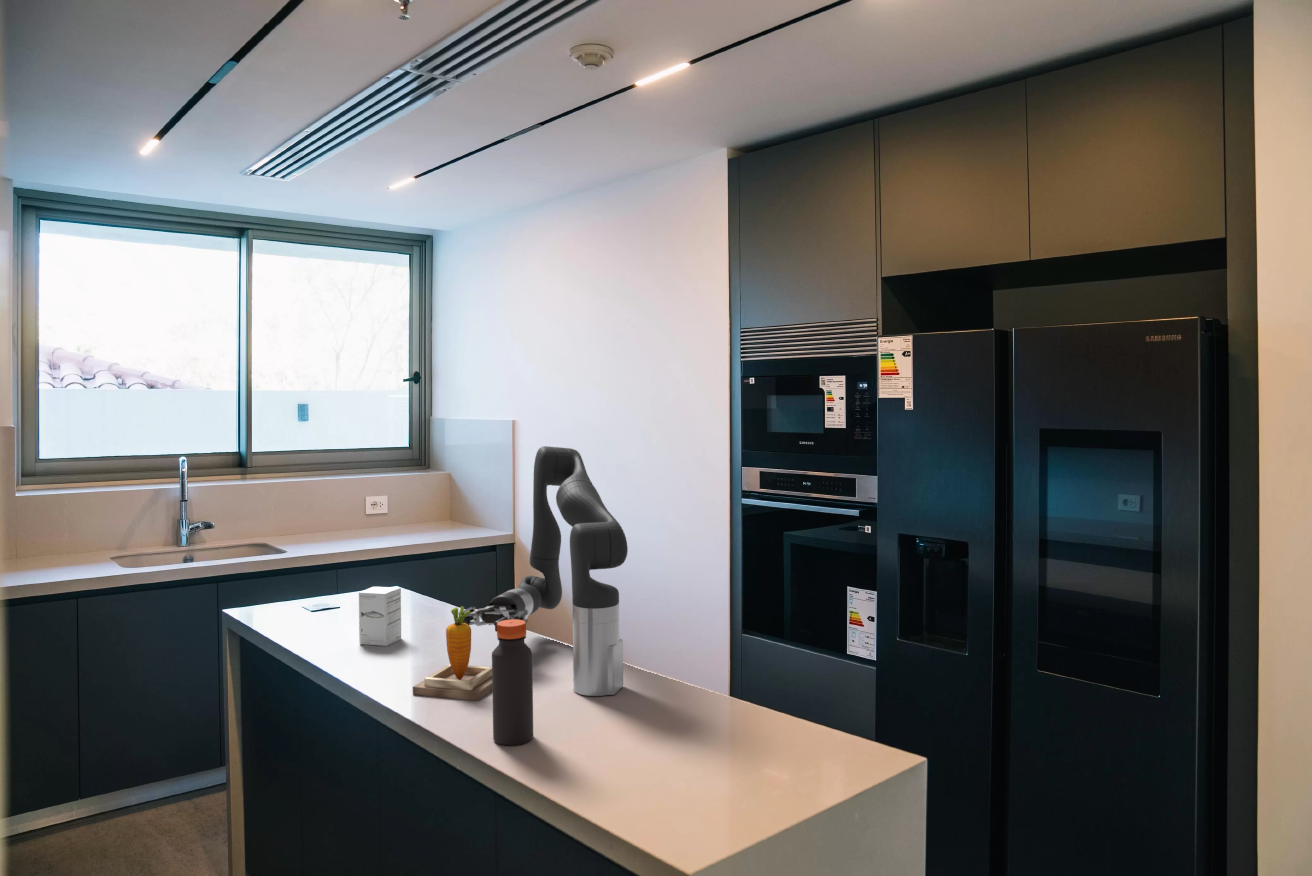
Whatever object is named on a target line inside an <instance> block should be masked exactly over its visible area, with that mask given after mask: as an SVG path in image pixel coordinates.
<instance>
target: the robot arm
mask: <svg viewBox="0 0 1312 876" xmlns="http://www.w3.org/2000/svg"><path fill="white" fill-rule="evenodd" d="M532 485H533V492H532V493H533V497H532V498H533V499H532V501H533V502H532V509H533V511H532V512H533V515H532V516H533V518H532V522H533V525H532V527H533V528H532V538H531V545H530V547H531V548H530V554H529V565H530V567H531V568H532V569H534V570H536V571H538V572H540V573H541V574H542V575H543V577H540V576H536V575H527V576H524V577H523V578H522V579H521V581H520V582H519V585H518V586H516V588H513V589H509V590H506V591H505V592H503V593H501V594H499V595H497V596H495V597H493V598H492V599H491V601H489V603H488V605H487V606H486V607H482V608H478V609H477V607H475V606H470V607H468V608H466V609H464V610H463V614H464V613H465V612H467V611H470V612H471V613H470V614H468V615H467V616H466V617H465V618H464V620H463V623H466V624H468V625H469V626H474V625H475V626H477V627H480V626H481V627H482V626H485V625H488V626H492V625H493V626H494V631H495V632H496V633H497V623H498V622H500V621H503V620H511V619H518V620H523V621H525V622H526V624H527V623H528V621H529V619H528V618H529V616H530V615H531V616H532V614H534V613H535V612H537V611H538V610H539V609H540V608H541V609H544V610H554V609H556V608H557V607H558V605H559V604H560V603H561V600H562V597H563V587H562V580H561V575H560V574H561V573H560V563H559V562H560V554H561V546H562V534H561V528H560V526H559V523H558V521H557V519H556V518H555V515H554V513H553V511H552V509H551V505H550V503H549V499H548V488H547V487H548V486H552V487H553V486H554V487H556V486H557V487H558V489H557V491H556V494H555V500H556V505H557V508H558V511H559V513H560V514H561V517H562V519H563V520H564V521H565V522H566V524H568V525H569V526H571V527H572V528H571V530H570V534H569V554H570V555H569V556H570V568H571V569H570V570H571V592H572V593H571V594H572V595H571V596H572V598H571V599H572V659H573V660H572V664H573V665H572V667H573V668H572V669H573V670H572V671H573V675H572V676H573V677H572V680H573V681H572V683H573V691H574V692H575V693H576V694H578V695H583V696H589V697H600V696H602V697H603V696H614V695H615V694H617V693H618V692H619V691H620V689H621V688H623V686H624V642H623V641H624V640H623V639H622V638H620V593H619V590H618V588H617V587H615V586H613V585H610V584H607V583H604V582H601V581H598V580H595V578H592V577H591V573H590V571H591V570H593V571H594V570H605V569H606V570H607V569H614V568H618V567H620V566H622V565H623V564H624V563H625V561H626V559H627V557H628V551H629V550H628V549H629V548H628V547H629V546H628V541H627V537H626V533H625V531H624V529H623V527H622V526H621V524H620V522H618V521H617V519H616V518H615V517H614V516H613V515H612V514H611V512H610V511H609V510H608V509H607V507H606V506H605V504H604V502H603V500H602V498H601V496H600V494H599V491H597V488H596V487H595V486H594V484H593V482H592V481H591V479H590V477H589V475H588V473H587V469H586V467H585V463H584V460H583V458H582V454H581V453H580V452H579V451H578V450H576V449H574V448H570V447H560V446H559V447H558V446H547V445H546V446H545V445H544V446H540V447H539V448H538V450H537V452H536V454H535V457H534V464H533V483H532ZM459 614H460V611H458V615H459ZM463 614H462V616H463ZM480 619H481V620H482V621H480Z"/></svg>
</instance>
